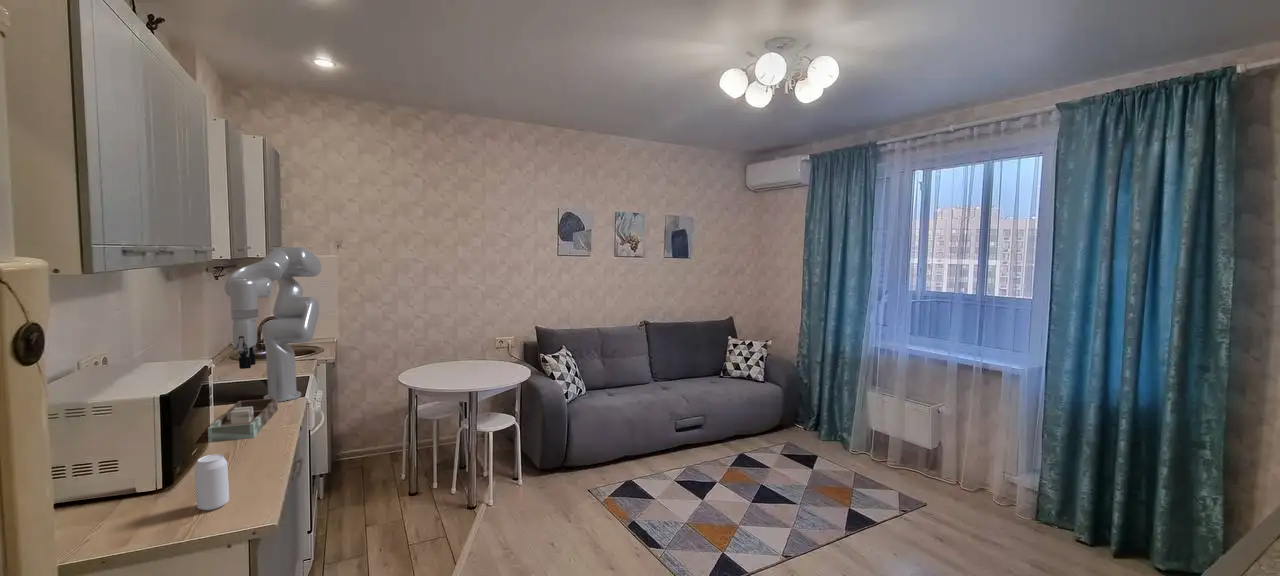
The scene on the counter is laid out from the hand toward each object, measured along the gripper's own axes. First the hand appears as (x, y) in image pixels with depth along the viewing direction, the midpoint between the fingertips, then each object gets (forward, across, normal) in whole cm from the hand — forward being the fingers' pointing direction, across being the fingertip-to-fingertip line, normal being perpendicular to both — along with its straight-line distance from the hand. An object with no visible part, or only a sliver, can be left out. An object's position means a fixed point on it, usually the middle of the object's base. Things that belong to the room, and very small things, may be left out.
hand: (247, 366), depth 190 cm
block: (+17, +8, 0) cm, 19 cm away
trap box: (+19, +5, 0) cm, 20 cm away
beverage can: (+20, +69, +10) cm, 72 cm away
